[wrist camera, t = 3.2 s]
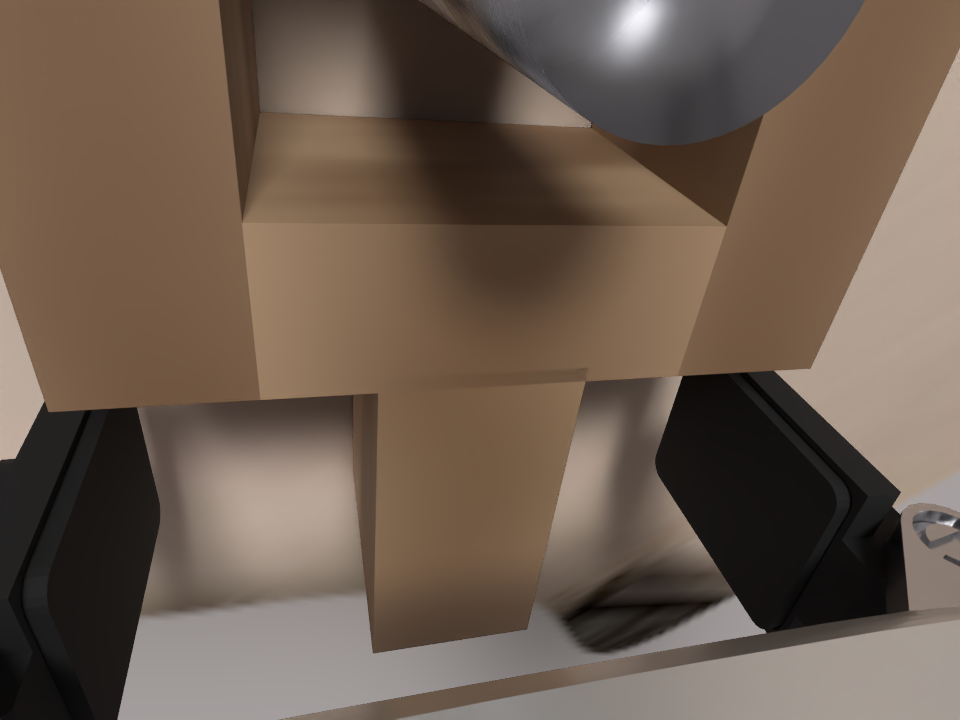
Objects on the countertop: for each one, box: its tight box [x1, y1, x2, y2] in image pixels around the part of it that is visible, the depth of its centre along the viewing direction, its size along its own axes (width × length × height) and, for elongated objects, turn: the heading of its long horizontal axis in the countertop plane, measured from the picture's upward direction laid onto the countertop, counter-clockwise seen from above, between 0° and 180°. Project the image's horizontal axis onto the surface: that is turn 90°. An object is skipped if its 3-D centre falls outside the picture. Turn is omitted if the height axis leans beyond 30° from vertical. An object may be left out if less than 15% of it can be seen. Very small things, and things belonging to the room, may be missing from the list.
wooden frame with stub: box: [0, 0, 960, 653], centre depth 8 cm, size 9×14×4 cm, turn 174°
